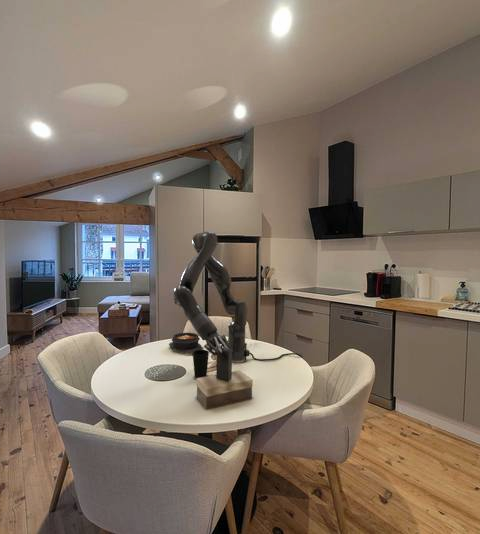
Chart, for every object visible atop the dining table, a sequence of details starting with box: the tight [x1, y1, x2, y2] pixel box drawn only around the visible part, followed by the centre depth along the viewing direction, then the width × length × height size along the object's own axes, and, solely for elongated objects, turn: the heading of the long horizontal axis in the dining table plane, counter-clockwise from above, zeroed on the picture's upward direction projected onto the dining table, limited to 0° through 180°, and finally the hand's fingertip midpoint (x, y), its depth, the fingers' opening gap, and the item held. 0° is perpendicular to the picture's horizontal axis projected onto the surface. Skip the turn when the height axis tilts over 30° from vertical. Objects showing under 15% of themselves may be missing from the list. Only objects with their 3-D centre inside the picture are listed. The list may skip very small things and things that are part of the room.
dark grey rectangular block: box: [215, 347, 233, 381], centre depth 126 cm, size 3×6×12 cm, turn 61°
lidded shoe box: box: [196, 369, 254, 410], centre depth 126 cm, size 20×11×8 cm, turn 116°
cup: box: [192, 349, 210, 380], centre depth 147 cm, size 8×8×12 cm
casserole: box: [168, 332, 204, 354], centre depth 189 cm, size 25×19×8 cm
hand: (228, 360), depth 125 cm, fingers closed on dark grey rectangular block, 3 cm apart
